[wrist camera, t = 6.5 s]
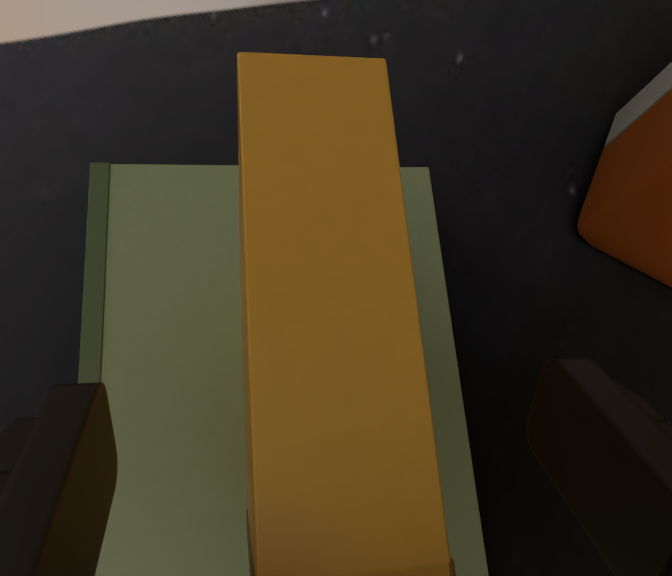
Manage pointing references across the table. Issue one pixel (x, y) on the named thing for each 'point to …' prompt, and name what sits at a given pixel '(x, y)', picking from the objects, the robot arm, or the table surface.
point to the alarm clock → (636, 185)
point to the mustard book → (331, 329)
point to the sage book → (217, 367)
